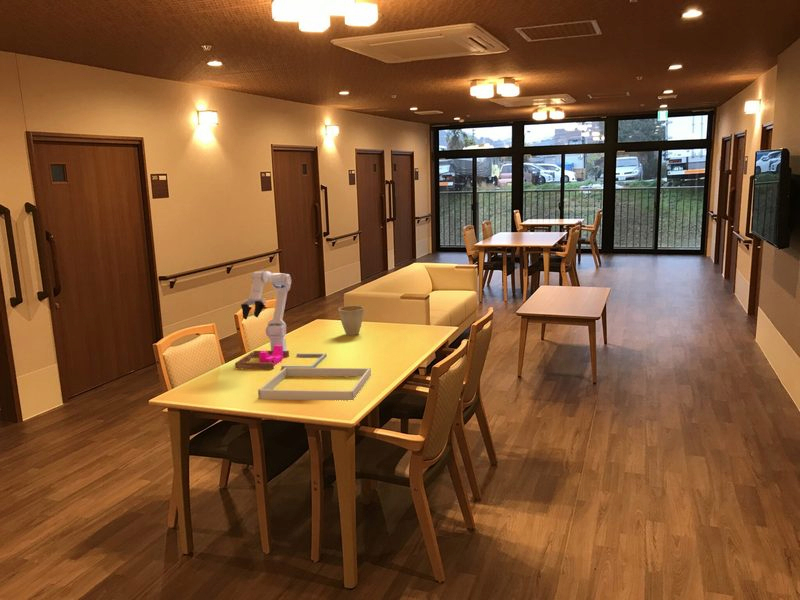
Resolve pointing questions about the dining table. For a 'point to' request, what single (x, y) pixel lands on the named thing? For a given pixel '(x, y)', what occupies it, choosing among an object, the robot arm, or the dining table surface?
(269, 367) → the walnut stall
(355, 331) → the plant pot
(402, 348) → the dining table surface
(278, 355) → the toy block
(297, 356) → the frame
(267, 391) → the frame
